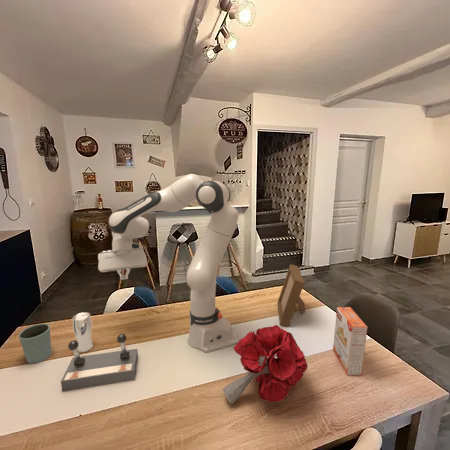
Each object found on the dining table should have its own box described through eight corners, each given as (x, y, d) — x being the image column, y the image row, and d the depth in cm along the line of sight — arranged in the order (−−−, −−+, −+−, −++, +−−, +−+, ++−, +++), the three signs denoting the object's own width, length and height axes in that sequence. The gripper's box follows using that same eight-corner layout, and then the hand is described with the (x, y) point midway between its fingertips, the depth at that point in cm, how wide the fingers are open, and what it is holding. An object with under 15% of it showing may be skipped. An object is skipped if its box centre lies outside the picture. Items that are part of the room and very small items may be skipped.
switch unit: (138, 357, 106) (137, 347, 105) (134, 379, 95) (133, 369, 94) (73, 366, 101) (72, 356, 100) (62, 391, 89) (60, 380, 88)
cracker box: (331, 350, 111) (336, 306, 106) (345, 350, 110) (351, 306, 106) (345, 375, 97) (351, 326, 93) (362, 376, 97) (368, 326, 92)
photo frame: (279, 326, 127) (283, 279, 122) (277, 304, 148) (279, 263, 143) (310, 329, 125) (315, 281, 120) (303, 306, 146) (307, 265, 141)
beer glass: (86, 354, 108) (82, 321, 104) (72, 351, 109) (67, 319, 106) (97, 343, 114) (94, 312, 111) (84, 341, 116) (80, 311, 113)
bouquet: (257, 448, 78) (329, 381, 84) (218, 398, 71) (300, 330, 77) (232, 394, 98) (292, 344, 104) (200, 352, 92) (266, 300, 98)
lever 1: (85, 358, 98) (78, 337, 91) (83, 366, 95) (76, 346, 89) (76, 359, 97) (68, 339, 91) (74, 368, 95) (65, 347, 88)
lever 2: (130, 352, 102) (126, 331, 95) (129, 360, 99) (125, 338, 93) (121, 353, 101) (117, 332, 95) (120, 361, 98) (115, 339, 92)
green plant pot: (58, 352, 108) (55, 327, 106) (32, 368, 99) (28, 341, 97) (43, 345, 113) (40, 321, 110) (17, 360, 104) (12, 334, 101)
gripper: (96, 249, 111) (96, 281, 106) (145, 244, 116) (147, 274, 111) (99, 253, 117) (100, 284, 112) (146, 248, 122) (148, 277, 117)
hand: (124, 279), depth 112 cm, fingers closed
